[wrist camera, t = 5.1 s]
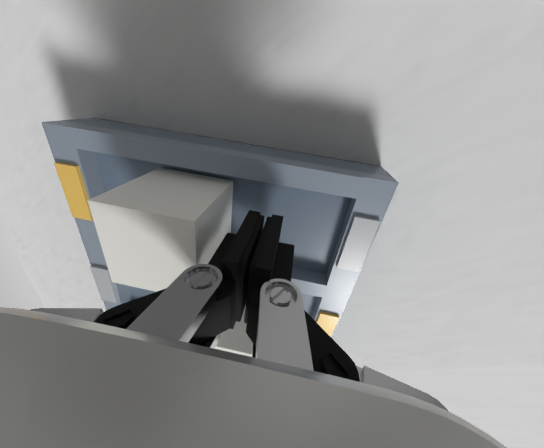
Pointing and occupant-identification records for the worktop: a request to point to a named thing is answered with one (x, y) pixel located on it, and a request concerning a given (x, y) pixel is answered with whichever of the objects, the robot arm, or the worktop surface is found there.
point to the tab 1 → (161, 225)
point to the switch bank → (235, 199)
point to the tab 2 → (236, 339)
